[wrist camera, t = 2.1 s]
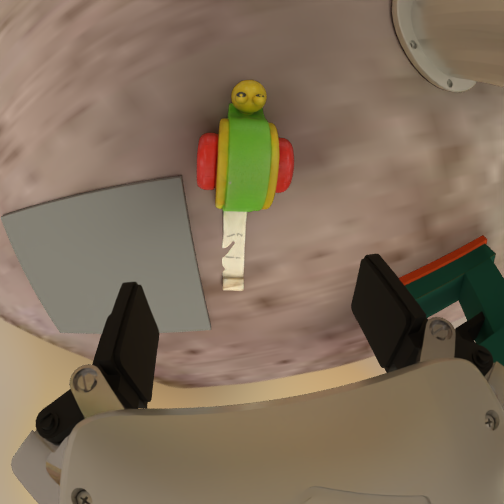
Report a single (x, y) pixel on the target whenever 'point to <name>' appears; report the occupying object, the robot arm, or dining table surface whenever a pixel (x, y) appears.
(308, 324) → the dining table surface
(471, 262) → the power tool
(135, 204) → the mat
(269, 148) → the toy measuring tape
